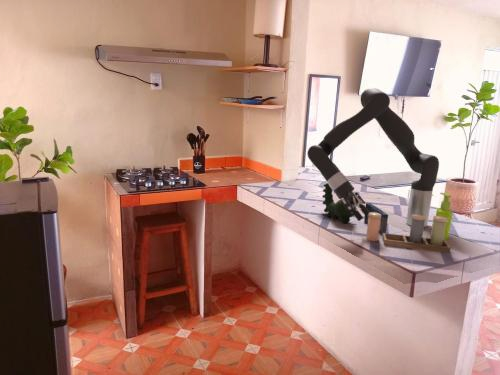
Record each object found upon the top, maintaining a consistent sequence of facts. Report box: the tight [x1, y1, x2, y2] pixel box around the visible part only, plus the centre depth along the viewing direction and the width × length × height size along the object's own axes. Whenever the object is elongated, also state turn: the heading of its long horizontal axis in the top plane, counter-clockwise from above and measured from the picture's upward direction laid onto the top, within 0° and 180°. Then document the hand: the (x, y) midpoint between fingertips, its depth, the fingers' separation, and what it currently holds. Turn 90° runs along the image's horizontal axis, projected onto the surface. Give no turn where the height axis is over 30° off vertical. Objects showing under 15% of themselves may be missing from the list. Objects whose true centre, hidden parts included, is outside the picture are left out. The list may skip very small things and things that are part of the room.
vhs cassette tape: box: [363, 202, 389, 235], centre depth 169 cm, size 18×3×10 cm, turn 4°
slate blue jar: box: [408, 214, 426, 244], centre depth 149 cm, size 5×5×12 cm
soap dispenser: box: [435, 192, 454, 241], centre depth 158 cm, size 6×7×20 cm
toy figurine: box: [321, 182, 355, 224], centre depth 182 cm, size 9×19×25 cm
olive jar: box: [429, 215, 447, 246], centre depth 147 cm, size 5×5×12 cm
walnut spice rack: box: [381, 232, 452, 254], centre depth 150 cm, size 8×24×4 cm, turn 76°
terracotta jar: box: [365, 212, 381, 242], centre depth 154 cm, size 5×5×12 cm
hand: (364, 217), depth 155 cm, fingers open, 8 cm apart
